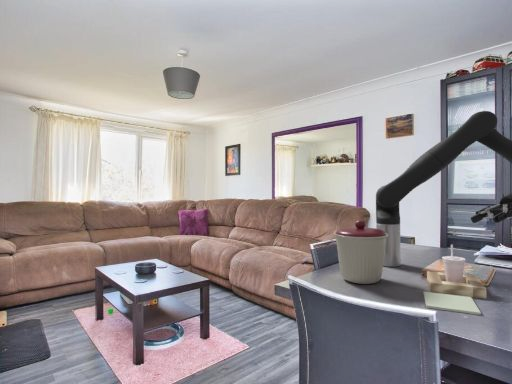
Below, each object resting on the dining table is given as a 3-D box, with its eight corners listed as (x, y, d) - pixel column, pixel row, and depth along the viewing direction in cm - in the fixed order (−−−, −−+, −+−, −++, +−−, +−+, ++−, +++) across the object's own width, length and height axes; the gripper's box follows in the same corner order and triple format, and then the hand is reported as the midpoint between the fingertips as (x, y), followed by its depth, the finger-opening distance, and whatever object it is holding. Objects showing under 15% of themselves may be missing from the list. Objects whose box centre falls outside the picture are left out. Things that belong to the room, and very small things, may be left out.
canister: (380, 292, 94) (379, 224, 94) (326, 282, 105) (325, 221, 105) (394, 277, 109) (393, 219, 109) (345, 270, 120) (344, 216, 119)
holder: (430, 292, 93) (430, 282, 93) (427, 279, 106) (427, 271, 106) (486, 298, 87) (486, 288, 87) (475, 284, 100) (475, 275, 100)
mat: (426, 307, 82) (426, 305, 82) (423, 293, 93) (423, 291, 93) (480, 315, 77) (480, 312, 77) (471, 299, 87) (471, 297, 87)
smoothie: (437, 285, 100) (437, 243, 100) (455, 284, 100) (455, 242, 100) (451, 292, 93) (451, 246, 93) (471, 291, 94) (470, 246, 94)
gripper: (497, 193, 111) (461, 210, 108) (537, 189, 97) (497, 208, 94) (505, 212, 110) (470, 230, 108) (548, 210, 96) (508, 231, 94)
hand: (483, 220), depth 101 cm, fingers open, 8 cm apart
